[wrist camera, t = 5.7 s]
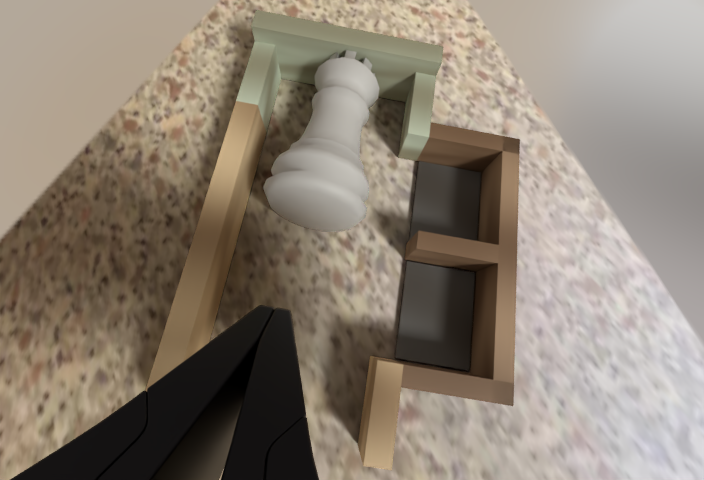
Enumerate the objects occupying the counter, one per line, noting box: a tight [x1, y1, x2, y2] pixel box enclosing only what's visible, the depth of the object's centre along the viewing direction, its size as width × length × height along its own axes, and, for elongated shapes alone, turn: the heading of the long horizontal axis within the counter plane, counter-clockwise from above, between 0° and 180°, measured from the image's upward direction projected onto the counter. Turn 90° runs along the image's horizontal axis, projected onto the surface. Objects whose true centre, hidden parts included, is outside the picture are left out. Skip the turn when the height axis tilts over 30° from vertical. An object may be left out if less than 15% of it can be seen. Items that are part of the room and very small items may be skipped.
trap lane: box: [145, 10, 520, 470], centre depth 14 cm, size 18×13×3 cm
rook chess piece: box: [263, 50, 379, 232], centre depth 15 cm, size 4×4×8 cm
